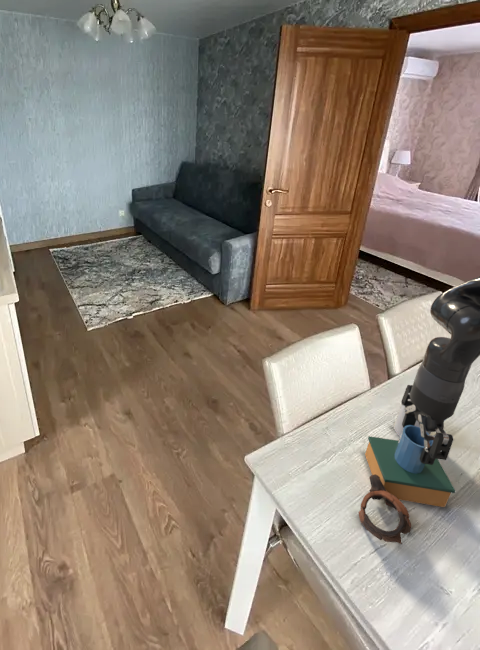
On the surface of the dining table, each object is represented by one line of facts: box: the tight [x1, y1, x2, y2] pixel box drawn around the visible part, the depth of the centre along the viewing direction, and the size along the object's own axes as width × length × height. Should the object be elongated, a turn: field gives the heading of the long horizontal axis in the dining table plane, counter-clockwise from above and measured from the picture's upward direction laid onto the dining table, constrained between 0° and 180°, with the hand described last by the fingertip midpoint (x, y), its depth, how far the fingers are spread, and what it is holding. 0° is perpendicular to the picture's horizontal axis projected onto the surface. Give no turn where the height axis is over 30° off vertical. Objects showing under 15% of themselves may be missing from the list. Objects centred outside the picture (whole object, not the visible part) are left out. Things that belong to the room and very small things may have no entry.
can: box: [393, 399, 432, 437], centre depth 88 cm, size 8×8×12 cm
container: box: [364, 435, 456, 508], centre depth 79 cm, size 14×11×6 cm
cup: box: [394, 425, 433, 474], centre depth 76 cm, size 6×6×8 cm
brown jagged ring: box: [358, 474, 412, 545], centre depth 72 cm, size 12×10×8 cm
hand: (415, 443), depth 75 cm, fingers open, 8 cm apart
